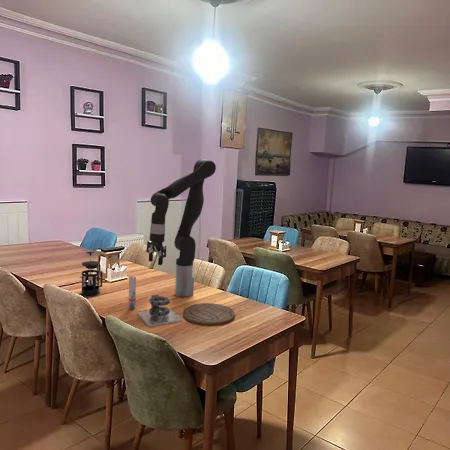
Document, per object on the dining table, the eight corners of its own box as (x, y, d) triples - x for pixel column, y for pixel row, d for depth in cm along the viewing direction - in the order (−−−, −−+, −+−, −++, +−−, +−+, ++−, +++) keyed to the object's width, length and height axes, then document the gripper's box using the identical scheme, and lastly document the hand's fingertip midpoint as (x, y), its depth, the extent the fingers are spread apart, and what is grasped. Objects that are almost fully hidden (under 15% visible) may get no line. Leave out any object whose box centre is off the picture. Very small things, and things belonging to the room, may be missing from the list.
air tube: (134, 307, 203) (134, 276, 200) (136, 309, 200) (137, 277, 197) (127, 308, 201) (128, 276, 198) (129, 310, 198) (130, 278, 196)
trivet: (206, 303, 214) (207, 299, 214) (245, 316, 199) (245, 312, 199) (171, 315, 195) (172, 311, 195) (211, 331, 180) (211, 327, 179)
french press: (84, 298, 212) (84, 254, 208) (77, 293, 219) (76, 251, 215) (105, 293, 220) (105, 252, 216) (97, 289, 227) (97, 248, 223)
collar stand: (168, 309, 202) (169, 292, 200) (182, 321, 188) (182, 302, 186) (137, 314, 194) (137, 296, 192) (148, 327, 180) (149, 307, 178)
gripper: (171, 234, 207) (169, 265, 209) (155, 229, 217) (153, 259, 219) (159, 234, 202) (157, 266, 204) (143, 230, 212) (141, 260, 214)
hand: (155, 263), depth 211 cm, fingers open, 8 cm apart
